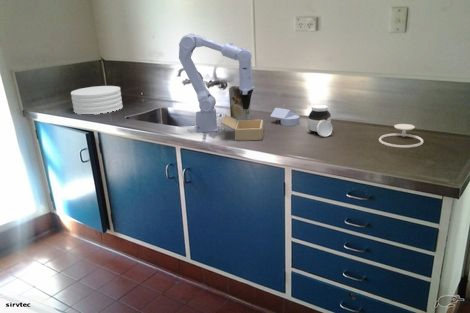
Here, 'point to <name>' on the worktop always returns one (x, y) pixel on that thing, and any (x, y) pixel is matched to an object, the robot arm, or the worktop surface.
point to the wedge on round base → (286, 117)
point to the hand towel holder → (403, 128)
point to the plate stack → (96, 99)
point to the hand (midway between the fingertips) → (246, 107)
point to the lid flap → (229, 122)
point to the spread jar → (320, 121)
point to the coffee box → (238, 105)
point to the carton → (249, 130)
